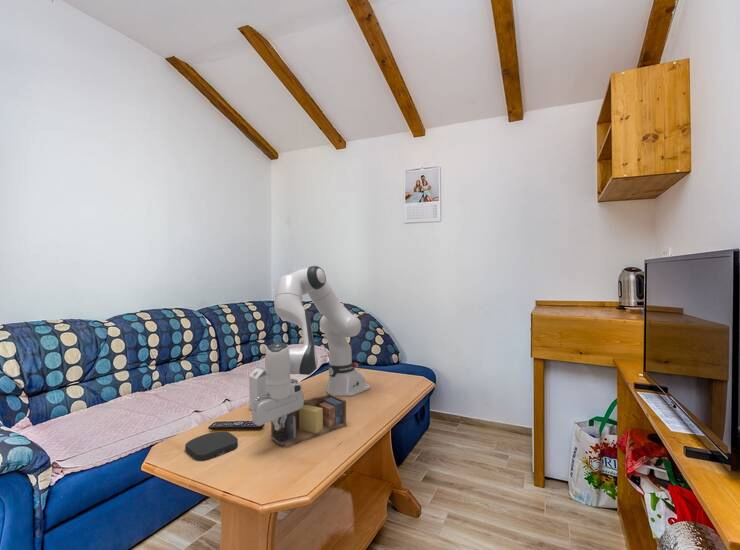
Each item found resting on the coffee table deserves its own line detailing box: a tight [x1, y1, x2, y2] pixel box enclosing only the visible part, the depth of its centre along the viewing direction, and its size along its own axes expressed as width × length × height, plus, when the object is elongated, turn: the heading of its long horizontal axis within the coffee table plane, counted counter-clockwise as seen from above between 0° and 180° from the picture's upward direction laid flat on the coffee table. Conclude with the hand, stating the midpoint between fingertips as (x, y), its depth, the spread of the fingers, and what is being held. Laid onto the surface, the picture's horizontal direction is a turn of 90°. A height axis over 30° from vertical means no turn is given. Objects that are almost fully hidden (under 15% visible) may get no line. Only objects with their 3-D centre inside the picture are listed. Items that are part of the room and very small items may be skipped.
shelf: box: [270, 393, 347, 449], centre depth 141 cm, size 26×11×10 cm, turn 131°
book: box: [299, 405, 323, 433], centre depth 140 cm, size 4×8×8 cm, turn 61°
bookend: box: [269, 414, 296, 446], centre depth 133 cm, size 6×8×8 cm
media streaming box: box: [184, 431, 239, 462], centre depth 129 cm, size 15×15×3 cm
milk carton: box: [248, 365, 266, 412], centre depth 164 cm, size 7×7×19 cm
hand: (279, 428), depth 132 cm, fingers closed
